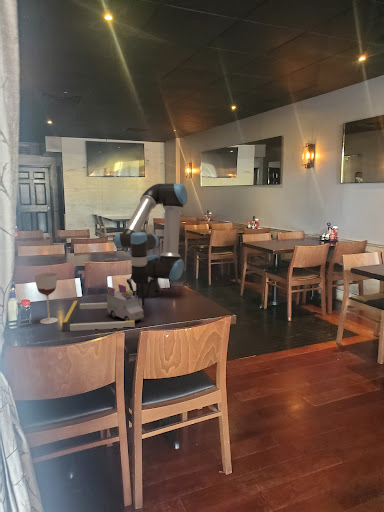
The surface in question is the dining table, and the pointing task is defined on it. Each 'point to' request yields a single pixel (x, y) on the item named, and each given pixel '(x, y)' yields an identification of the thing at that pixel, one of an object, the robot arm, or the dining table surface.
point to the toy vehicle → (123, 304)
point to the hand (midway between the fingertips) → (140, 311)
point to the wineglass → (46, 290)
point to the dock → (91, 326)
